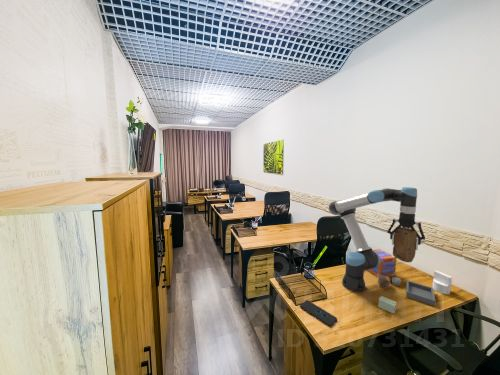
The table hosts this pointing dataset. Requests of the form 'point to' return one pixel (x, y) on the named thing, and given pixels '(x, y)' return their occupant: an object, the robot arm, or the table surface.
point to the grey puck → (396, 281)
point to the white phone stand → (442, 282)
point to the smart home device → (318, 313)
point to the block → (404, 244)
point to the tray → (420, 293)
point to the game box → (384, 264)
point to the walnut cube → (384, 281)
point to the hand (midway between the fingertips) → (404, 246)
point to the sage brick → (387, 304)
